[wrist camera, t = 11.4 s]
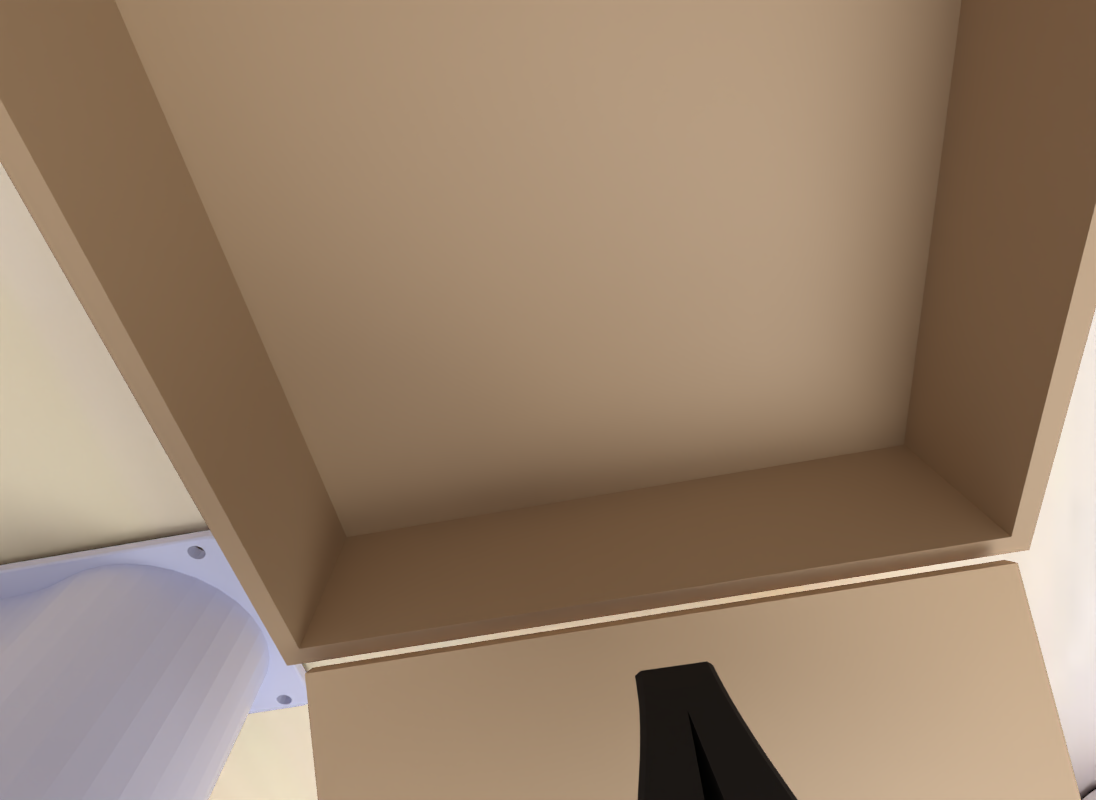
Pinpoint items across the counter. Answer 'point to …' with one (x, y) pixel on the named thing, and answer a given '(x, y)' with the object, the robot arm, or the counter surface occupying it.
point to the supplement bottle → (1091, 796)
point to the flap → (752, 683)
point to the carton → (572, 286)
